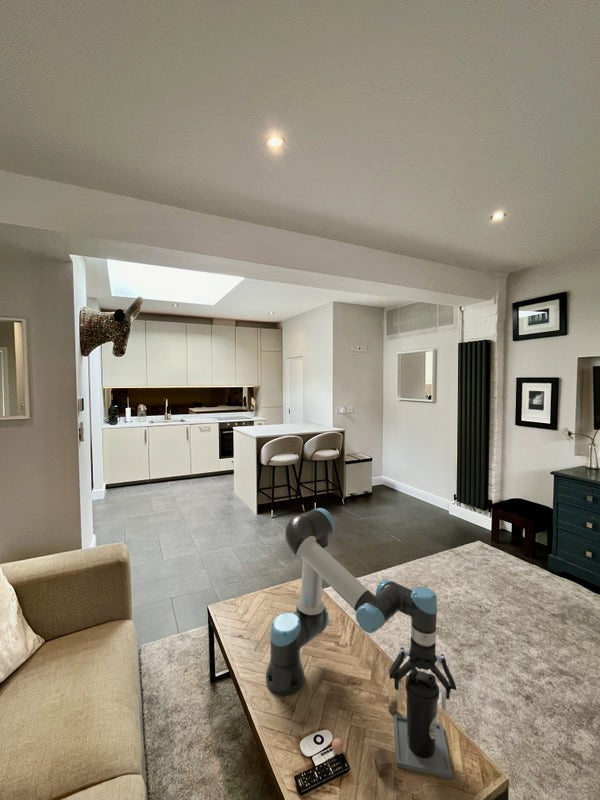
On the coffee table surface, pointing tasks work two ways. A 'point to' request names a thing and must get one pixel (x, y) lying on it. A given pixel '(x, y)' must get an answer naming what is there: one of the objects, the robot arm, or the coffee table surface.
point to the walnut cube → (383, 763)
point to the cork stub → (393, 705)
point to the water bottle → (421, 712)
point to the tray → (409, 760)
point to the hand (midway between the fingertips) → (421, 702)
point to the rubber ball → (337, 746)
